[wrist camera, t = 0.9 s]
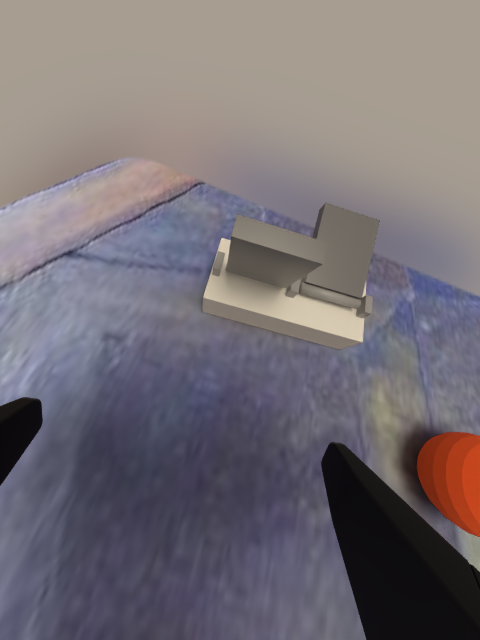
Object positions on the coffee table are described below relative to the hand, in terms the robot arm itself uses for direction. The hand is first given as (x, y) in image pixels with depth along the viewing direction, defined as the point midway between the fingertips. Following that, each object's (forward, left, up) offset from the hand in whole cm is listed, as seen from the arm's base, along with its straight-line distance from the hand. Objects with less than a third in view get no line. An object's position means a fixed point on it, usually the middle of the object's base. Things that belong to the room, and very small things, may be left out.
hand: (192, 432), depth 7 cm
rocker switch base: (+6, -11, -13) cm, 18 cm away
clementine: (-14, -17, -13) cm, 26 cm away
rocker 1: (+8, -8, -9) cm, 15 cm away
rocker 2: (+4, -14, -9) cm, 17 cm away
